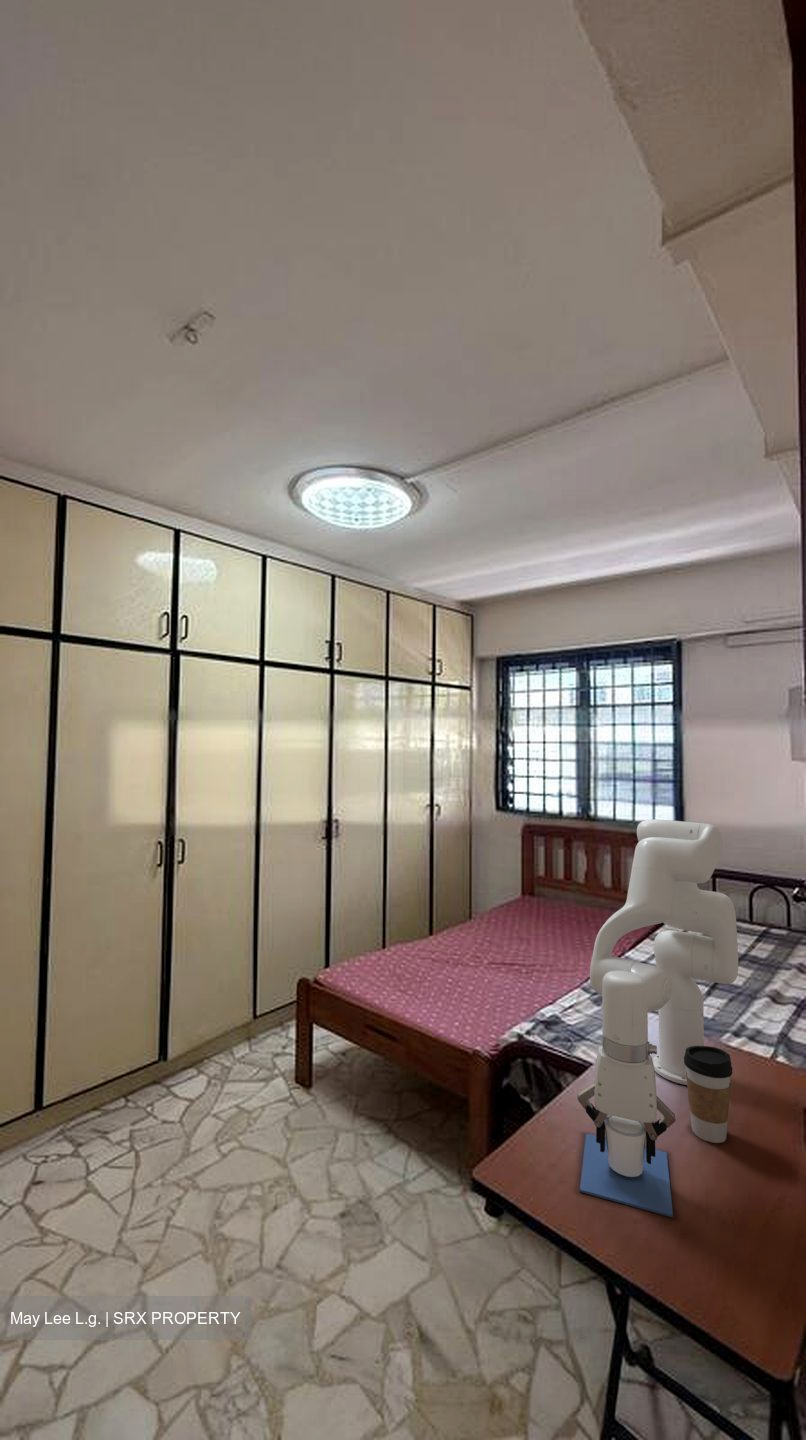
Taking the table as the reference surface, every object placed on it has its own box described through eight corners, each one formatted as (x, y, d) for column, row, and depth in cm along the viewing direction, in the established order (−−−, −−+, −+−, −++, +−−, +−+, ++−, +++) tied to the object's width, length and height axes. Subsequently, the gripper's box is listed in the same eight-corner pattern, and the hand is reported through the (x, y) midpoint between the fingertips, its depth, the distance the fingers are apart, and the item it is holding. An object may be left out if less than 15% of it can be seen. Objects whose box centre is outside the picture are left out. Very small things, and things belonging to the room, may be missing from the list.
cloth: (586, 1134, 111) (586, 1132, 111) (666, 1154, 106) (666, 1152, 106) (579, 1191, 96) (579, 1189, 96) (673, 1217, 91) (672, 1215, 91)
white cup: (598, 1152, 104) (598, 1112, 105) (634, 1151, 105) (634, 1111, 105) (615, 1180, 97) (615, 1136, 98) (654, 1178, 98) (654, 1135, 98)
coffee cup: (740, 1150, 107) (739, 1066, 108) (691, 1143, 109) (690, 1060, 110) (725, 1123, 116) (723, 1045, 117) (679, 1117, 117) (678, 1040, 118)
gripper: (677, 1047, 103) (678, 1153, 102) (575, 1028, 109) (575, 1128, 108) (681, 1067, 96) (682, 1181, 95) (571, 1046, 102) (571, 1153, 101)
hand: (625, 1152), depth 101 cm, fingers closed on white cup, 6 cm apart
